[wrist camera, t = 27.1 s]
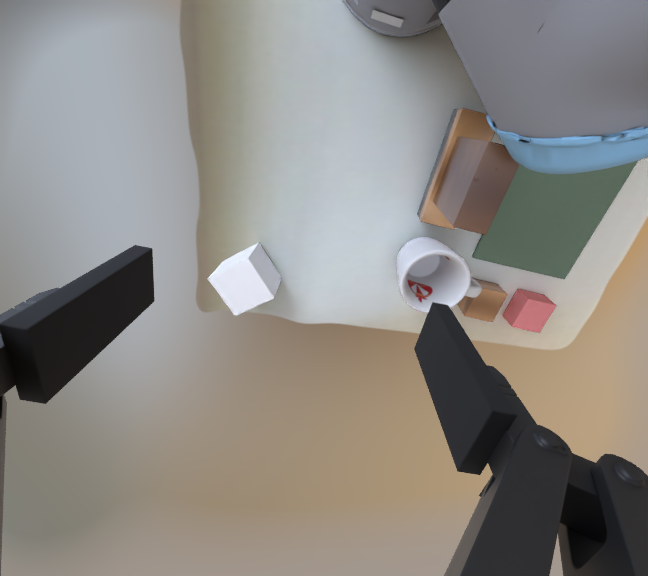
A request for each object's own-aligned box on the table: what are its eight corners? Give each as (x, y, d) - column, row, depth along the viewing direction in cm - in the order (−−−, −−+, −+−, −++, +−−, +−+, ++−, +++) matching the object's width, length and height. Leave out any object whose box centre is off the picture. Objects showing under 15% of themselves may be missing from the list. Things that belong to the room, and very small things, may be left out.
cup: (480, 247, 43) (508, 271, 36) (451, 297, 47) (471, 329, 39) (405, 220, 42) (418, 240, 35) (380, 274, 45) (388, 302, 38)
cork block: (470, 277, 45) (478, 287, 42) (497, 284, 45) (507, 294, 43) (457, 305, 47) (464, 316, 44) (483, 311, 47) (492, 322, 45)
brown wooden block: (453, 109, 36) (497, 103, 24) (488, 117, 36) (550, 116, 24) (416, 213, 42) (436, 251, 30) (446, 221, 42) (479, 262, 30)
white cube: (259, 241, 44) (248, 258, 39) (282, 278, 46) (274, 298, 41) (223, 260, 46) (207, 278, 40) (246, 294, 48) (235, 316, 43)
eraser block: (517, 288, 46) (528, 298, 43) (544, 294, 46) (556, 305, 43) (502, 315, 48) (512, 326, 45) (528, 321, 48) (539, 333, 45)
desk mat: (541, 106, 36) (543, 106, 35) (650, 135, 37) (653, 135, 36) (472, 256, 44) (473, 257, 43) (562, 278, 45) (564, 279, 44)
